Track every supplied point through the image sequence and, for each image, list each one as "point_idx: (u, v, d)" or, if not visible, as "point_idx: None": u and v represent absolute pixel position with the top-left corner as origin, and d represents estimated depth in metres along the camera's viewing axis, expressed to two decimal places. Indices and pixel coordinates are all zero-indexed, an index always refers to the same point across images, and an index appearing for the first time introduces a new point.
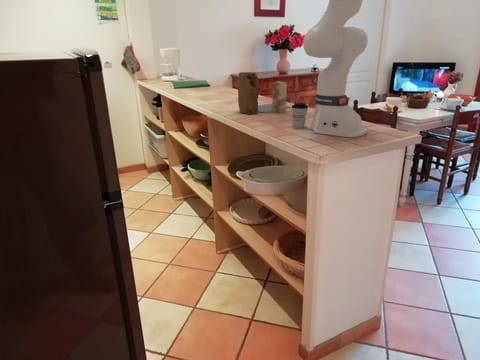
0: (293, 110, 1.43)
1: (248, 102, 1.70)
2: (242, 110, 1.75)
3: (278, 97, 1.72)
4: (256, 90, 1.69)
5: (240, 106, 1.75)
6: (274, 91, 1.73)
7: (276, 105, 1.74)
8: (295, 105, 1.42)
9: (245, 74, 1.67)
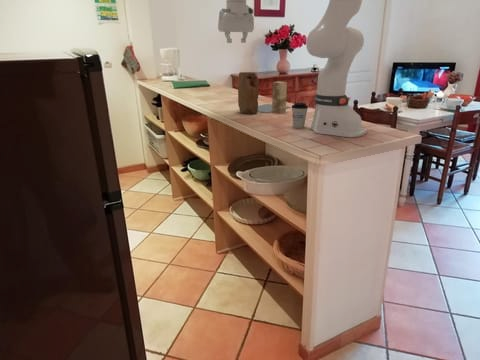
0: (293, 110, 1.43)
1: (248, 102, 1.70)
2: (242, 110, 1.75)
3: (278, 97, 1.72)
4: (256, 90, 1.69)
5: (240, 106, 1.75)
6: (274, 91, 1.73)
7: (276, 105, 1.74)
8: (295, 105, 1.42)
9: (245, 74, 1.67)
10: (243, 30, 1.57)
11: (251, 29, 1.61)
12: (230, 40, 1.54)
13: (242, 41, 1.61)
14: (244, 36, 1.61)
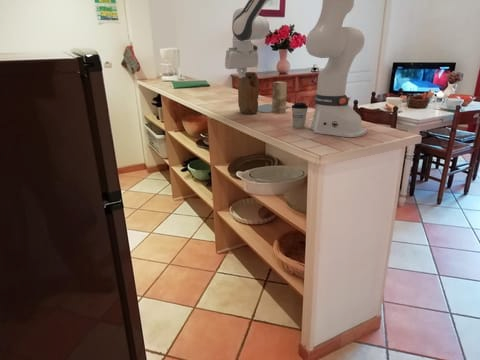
0: (293, 110, 1.43)
1: (248, 102, 1.70)
2: (242, 110, 1.75)
3: (278, 97, 1.72)
4: (256, 90, 1.69)
5: (240, 106, 1.75)
6: (274, 91, 1.73)
7: (276, 105, 1.74)
8: (295, 105, 1.42)
9: (245, 74, 1.67)
10: (248, 66, 1.66)
11: (256, 64, 1.69)
12: (242, 75, 1.65)
13: None
14: (243, 71, 1.67)
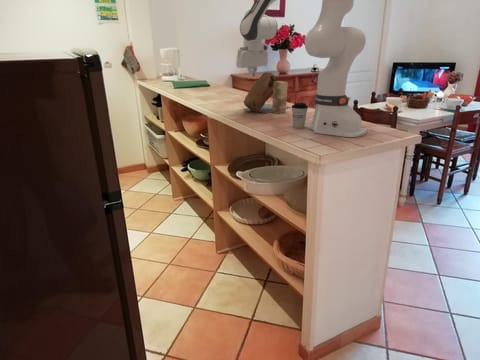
0: (293, 110, 1.43)
1: (258, 96, 1.71)
2: (247, 101, 1.74)
3: (279, 96, 1.72)
4: (270, 92, 1.73)
5: (247, 97, 1.76)
6: (275, 91, 1.72)
7: (277, 105, 1.74)
8: (295, 105, 1.42)
9: (270, 74, 1.73)
10: (258, 65, 1.71)
11: (265, 63, 1.74)
12: (252, 74, 1.71)
13: None
14: (254, 70, 1.72)
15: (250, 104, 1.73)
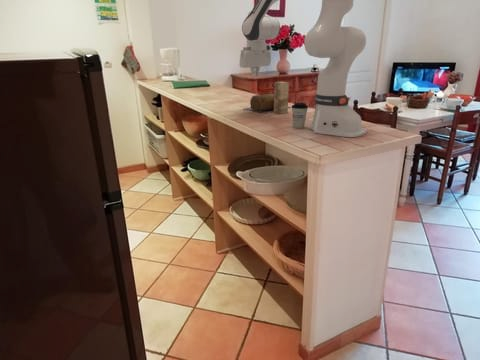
0: (293, 110, 1.43)
1: (269, 98, 1.76)
2: (257, 96, 1.77)
3: (279, 97, 1.71)
4: None
5: (258, 95, 1.79)
6: (275, 91, 1.72)
7: (278, 106, 1.73)
8: (295, 105, 1.42)
9: None
10: (261, 65, 1.72)
11: (268, 63, 1.76)
12: (255, 74, 1.72)
13: None
14: (257, 70, 1.73)
15: (259, 98, 1.74)
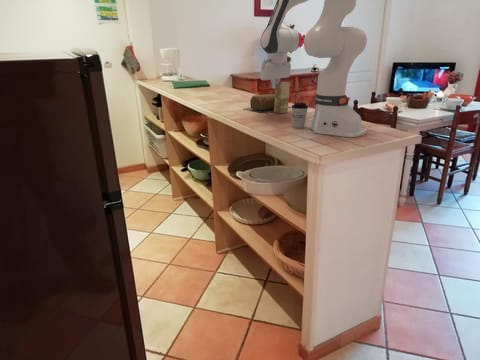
0: (293, 110, 1.43)
1: (269, 97, 1.76)
2: (257, 96, 1.77)
3: (280, 96, 1.72)
4: None
5: (258, 95, 1.79)
6: (276, 90, 1.73)
7: (278, 105, 1.74)
8: (295, 105, 1.42)
9: None
10: (281, 77, 1.69)
11: (288, 75, 1.73)
12: (275, 86, 1.69)
13: None
14: (276, 82, 1.70)
15: (259, 98, 1.74)
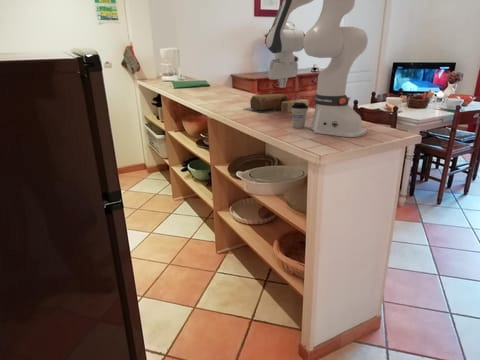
0: (293, 110, 1.43)
1: (269, 97, 1.76)
2: (257, 96, 1.77)
3: (297, 101, 1.80)
4: (278, 105, 1.80)
5: (258, 95, 1.79)
6: (297, 100, 1.83)
7: (290, 102, 1.78)
8: (295, 105, 1.42)
9: (285, 95, 1.85)
10: (289, 76, 1.73)
11: (295, 74, 1.77)
12: (283, 85, 1.73)
13: None
14: (284, 81, 1.74)
15: (259, 98, 1.74)
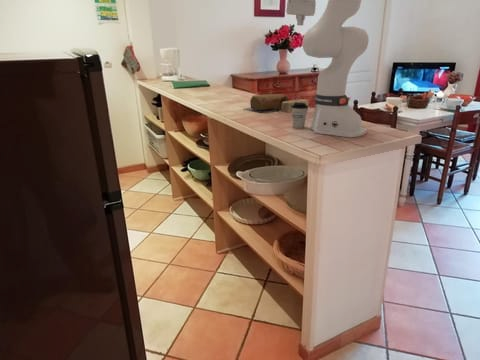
0: (293, 110, 1.43)
1: (269, 97, 1.76)
2: (257, 96, 1.77)
3: (297, 101, 1.80)
4: (278, 105, 1.80)
5: (258, 95, 1.79)
6: (297, 100, 1.83)
7: (291, 102, 1.78)
8: (295, 105, 1.42)
9: (285, 95, 1.85)
10: (307, 13, 1.70)
11: (313, 13, 1.73)
12: (300, 23, 1.69)
13: None
14: (302, 19, 1.71)
15: (259, 98, 1.74)
